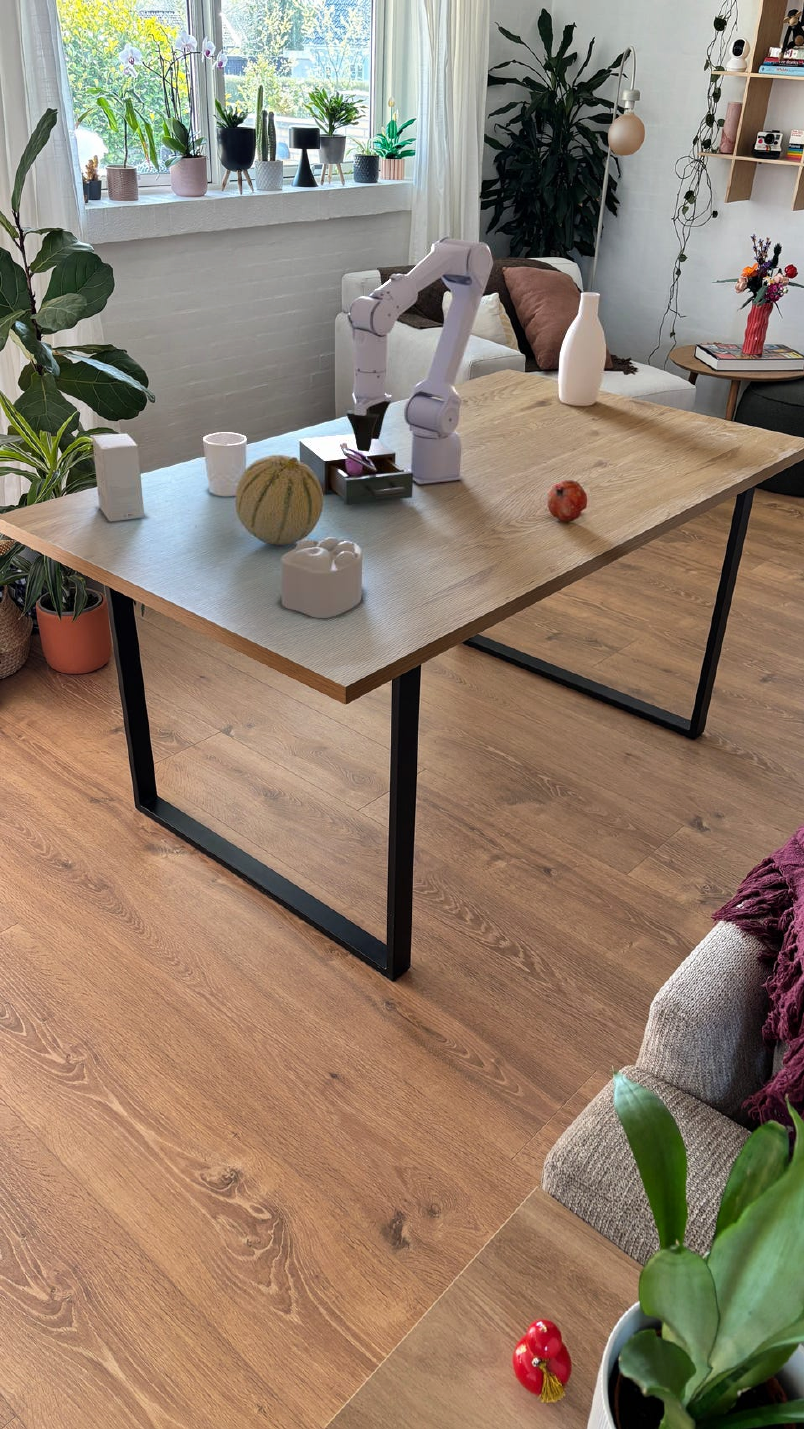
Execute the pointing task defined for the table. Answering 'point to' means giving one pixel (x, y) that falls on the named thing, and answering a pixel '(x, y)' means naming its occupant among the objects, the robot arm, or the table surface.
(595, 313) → the bottle
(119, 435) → the small box
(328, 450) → the cabinet
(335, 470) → the drawer
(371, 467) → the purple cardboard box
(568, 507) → the pomegranate
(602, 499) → the table surface
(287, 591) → the lumpy-topped squat cylinder
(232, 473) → the white cup
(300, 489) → the cantaloupe
